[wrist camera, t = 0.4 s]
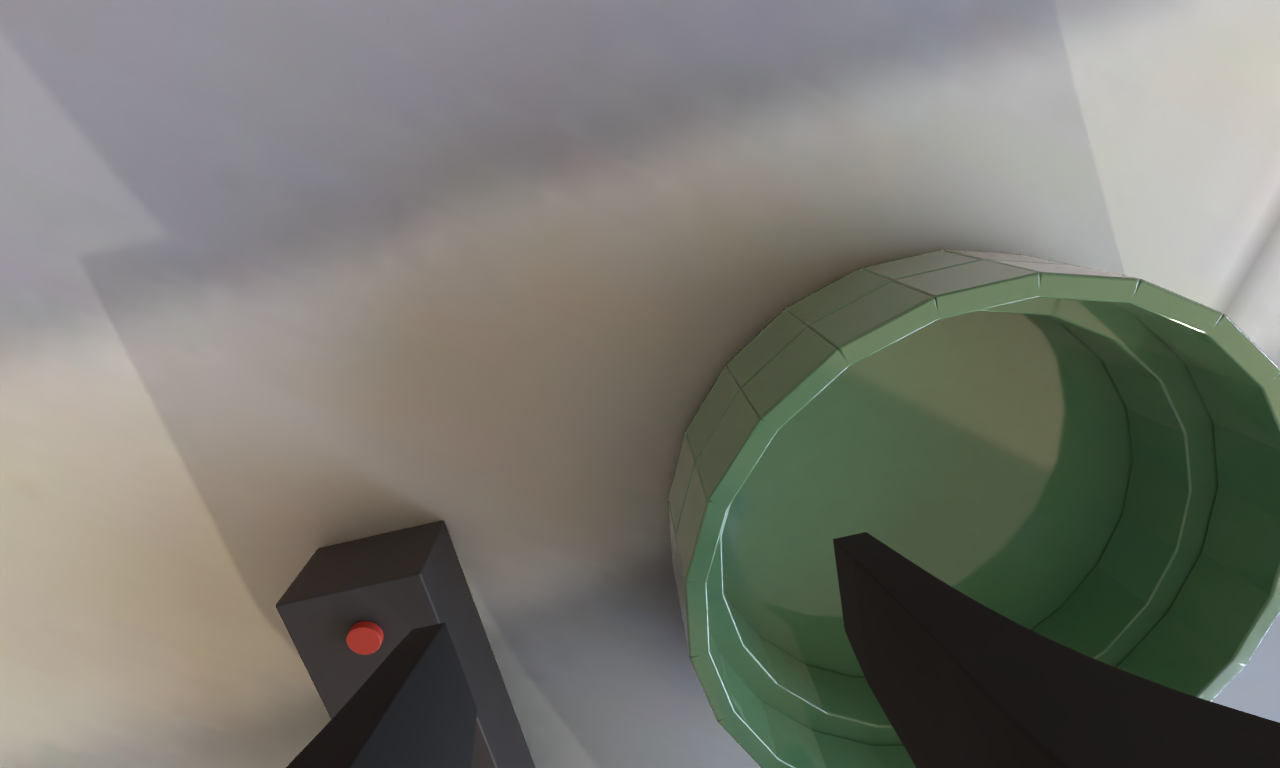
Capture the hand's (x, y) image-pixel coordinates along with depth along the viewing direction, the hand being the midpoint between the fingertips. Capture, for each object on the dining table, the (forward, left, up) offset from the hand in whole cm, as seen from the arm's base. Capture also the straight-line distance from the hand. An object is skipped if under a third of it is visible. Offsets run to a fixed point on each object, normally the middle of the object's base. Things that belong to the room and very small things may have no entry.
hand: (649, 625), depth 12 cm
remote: (-8, +9, -10) cm, 15 cm away
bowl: (-5, -9, -10) cm, 14 cm away
